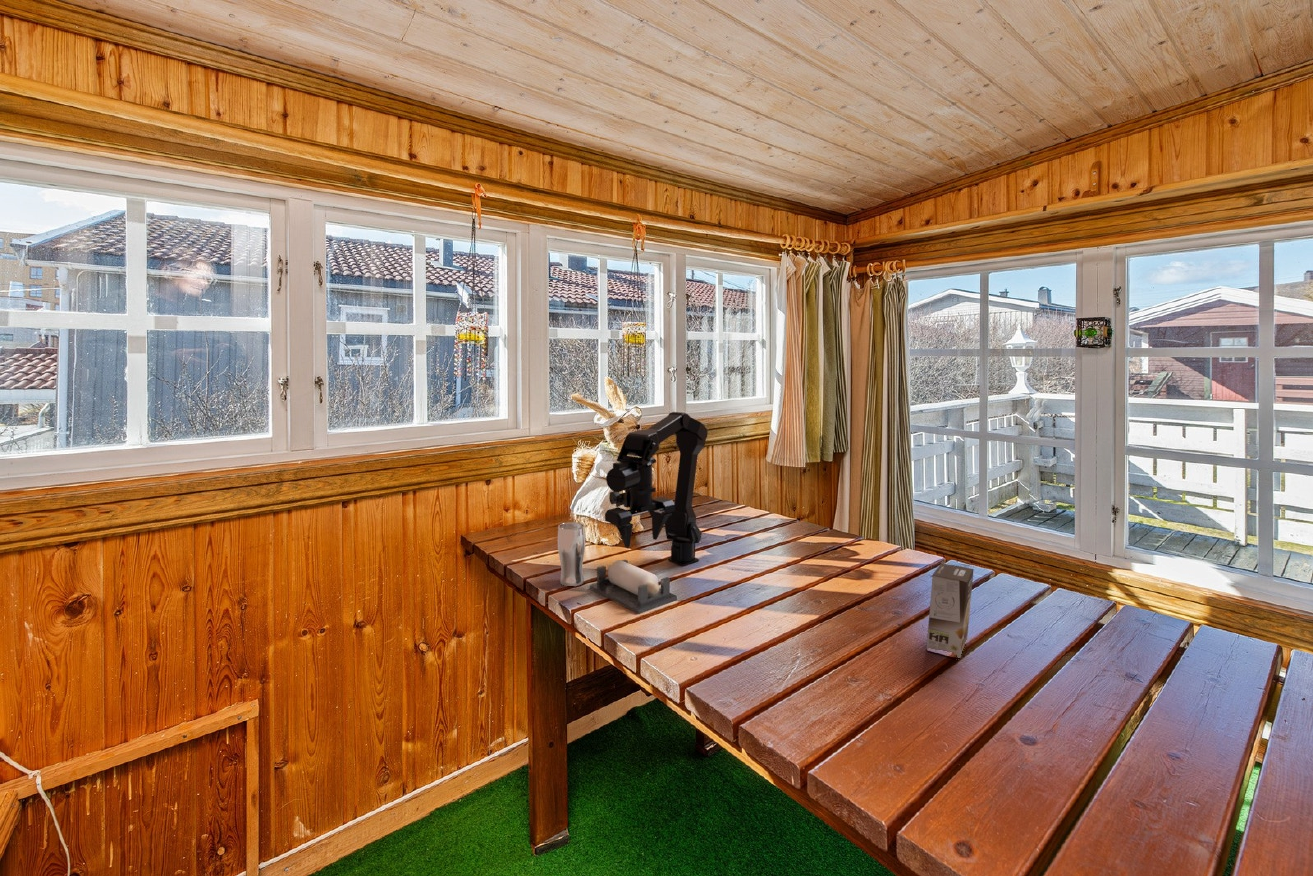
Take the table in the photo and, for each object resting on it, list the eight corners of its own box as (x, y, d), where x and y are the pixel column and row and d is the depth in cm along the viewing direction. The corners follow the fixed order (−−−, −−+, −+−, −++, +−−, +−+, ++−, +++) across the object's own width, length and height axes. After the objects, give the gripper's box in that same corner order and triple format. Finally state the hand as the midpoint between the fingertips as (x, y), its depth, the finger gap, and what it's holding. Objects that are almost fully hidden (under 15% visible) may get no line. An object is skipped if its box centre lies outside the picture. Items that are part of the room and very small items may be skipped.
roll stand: (627, 577, 159) (627, 557, 158) (676, 600, 145) (677, 578, 144) (589, 588, 151) (589, 567, 150) (638, 614, 137) (638, 590, 136)
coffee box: (960, 661, 118) (967, 582, 115) (925, 651, 121) (931, 575, 119) (967, 642, 125) (974, 568, 123) (934, 634, 129) (940, 561, 126)
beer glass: (580, 588, 151) (580, 530, 149) (554, 586, 153) (553, 528, 150) (589, 578, 158) (588, 522, 156) (563, 576, 159) (563, 521, 157)
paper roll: (602, 583, 152) (601, 560, 151) (621, 577, 156) (620, 555, 155) (646, 605, 140) (645, 580, 139) (665, 597, 144) (665, 573, 143)
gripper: (647, 472, 162) (648, 528, 165) (590, 483, 150) (592, 544, 152) (676, 479, 154) (676, 538, 157) (618, 492, 142) (619, 555, 144)
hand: (641, 543), depth 153 cm, fingers open, 9 cm apart
